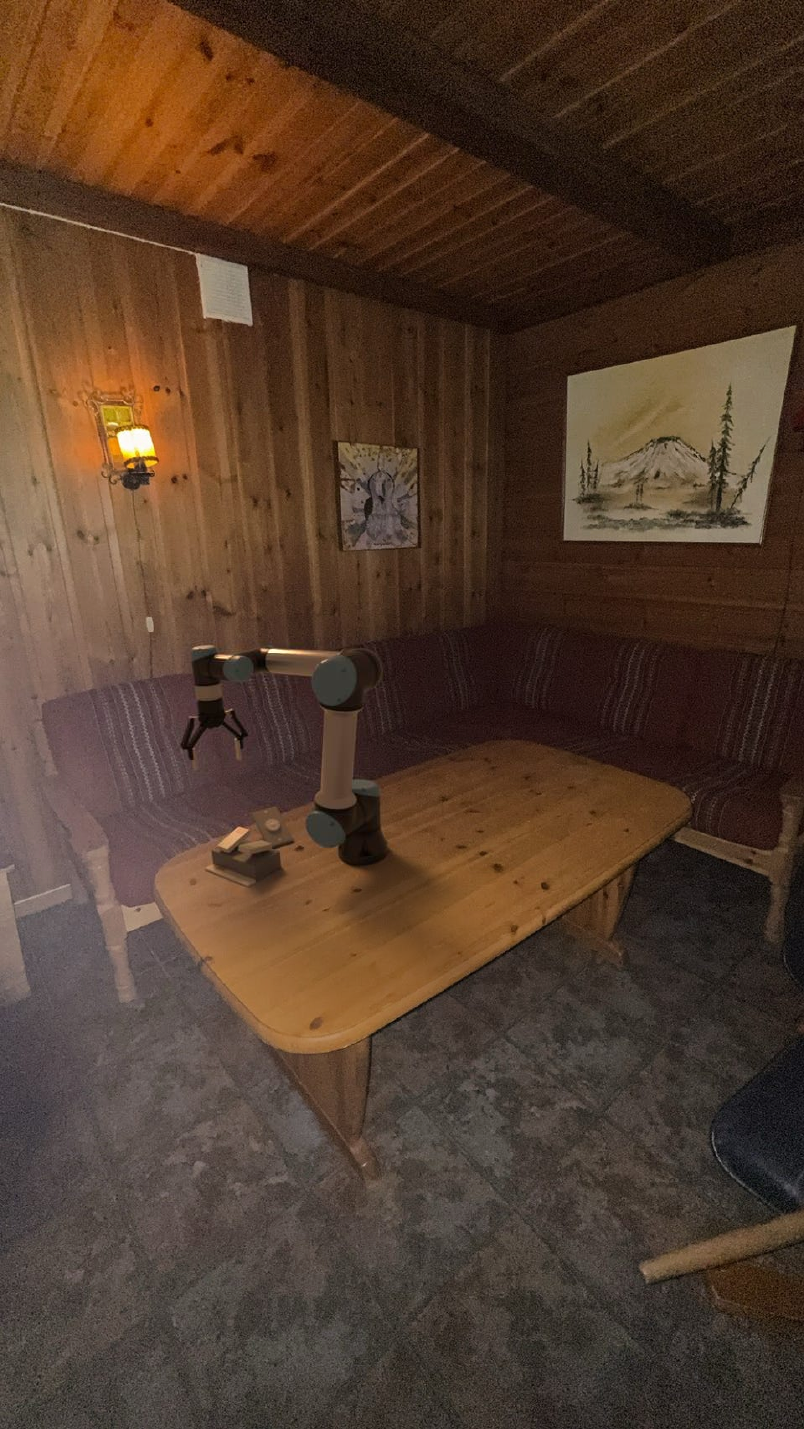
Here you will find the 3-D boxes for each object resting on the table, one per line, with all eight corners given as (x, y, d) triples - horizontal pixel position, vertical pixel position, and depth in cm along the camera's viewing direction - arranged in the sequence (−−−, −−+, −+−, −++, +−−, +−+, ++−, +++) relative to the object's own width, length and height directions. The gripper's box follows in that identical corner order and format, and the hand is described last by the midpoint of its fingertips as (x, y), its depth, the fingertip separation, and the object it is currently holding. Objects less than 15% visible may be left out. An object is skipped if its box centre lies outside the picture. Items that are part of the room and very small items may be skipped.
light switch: (269, 845, 193) (252, 810, 201) (267, 856, 197) (250, 822, 205) (294, 837, 198) (276, 804, 206) (291, 848, 201) (274, 815, 210)
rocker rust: (250, 834, 187) (248, 829, 187) (229, 853, 181) (227, 849, 180) (240, 830, 190) (238, 826, 189) (218, 849, 184) (217, 845, 183)
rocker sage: (271, 849, 183) (272, 843, 183) (249, 854, 175) (249, 848, 175) (261, 845, 185) (261, 839, 185) (238, 850, 178) (238, 845, 178)
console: (281, 866, 184) (279, 847, 182) (248, 887, 174) (246, 867, 172) (238, 851, 194) (236, 832, 192) (205, 869, 183) (202, 850, 181)
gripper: (245, 688, 196) (252, 752, 202) (163, 702, 183) (173, 770, 189) (253, 693, 190) (260, 758, 196) (169, 707, 177) (180, 777, 183)
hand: (217, 764), depth 192 cm, fingers open, 13 cm apart
